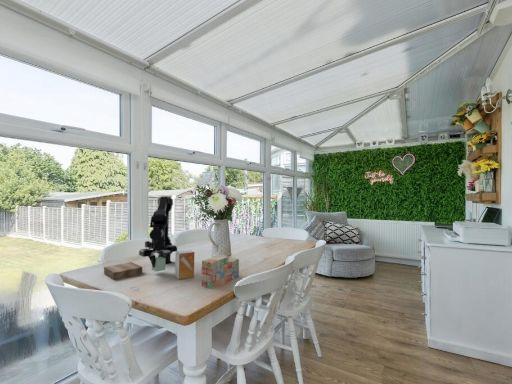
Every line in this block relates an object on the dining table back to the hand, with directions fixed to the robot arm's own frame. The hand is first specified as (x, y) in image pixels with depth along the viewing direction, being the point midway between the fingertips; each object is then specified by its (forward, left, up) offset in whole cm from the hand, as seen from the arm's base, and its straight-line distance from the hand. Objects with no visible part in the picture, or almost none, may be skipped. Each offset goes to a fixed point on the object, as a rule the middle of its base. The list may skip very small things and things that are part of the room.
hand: (158, 266), depth 137 cm
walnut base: (+13, -13, -4) cm, 19 cm away
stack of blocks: (-16, +32, -4) cm, 36 cm away
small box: (-7, +14, -4) cm, 16 cm away
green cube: (0, 0, -2) cm, 2 cm away
